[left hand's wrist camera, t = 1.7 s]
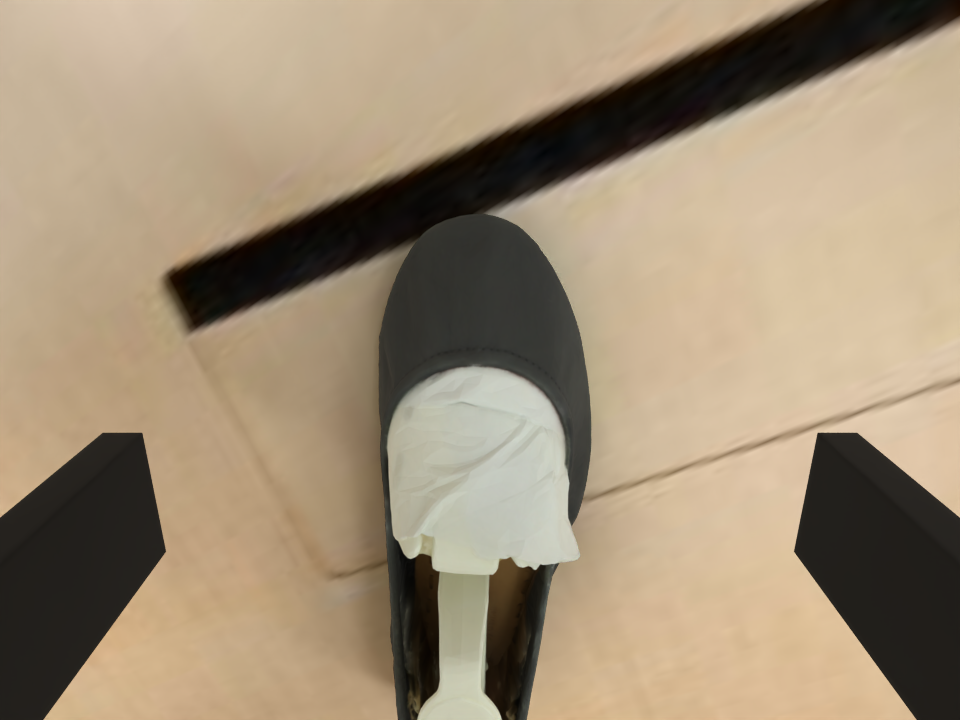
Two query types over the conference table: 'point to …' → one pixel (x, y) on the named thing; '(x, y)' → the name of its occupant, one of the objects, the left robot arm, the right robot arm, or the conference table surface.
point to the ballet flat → (477, 464)
